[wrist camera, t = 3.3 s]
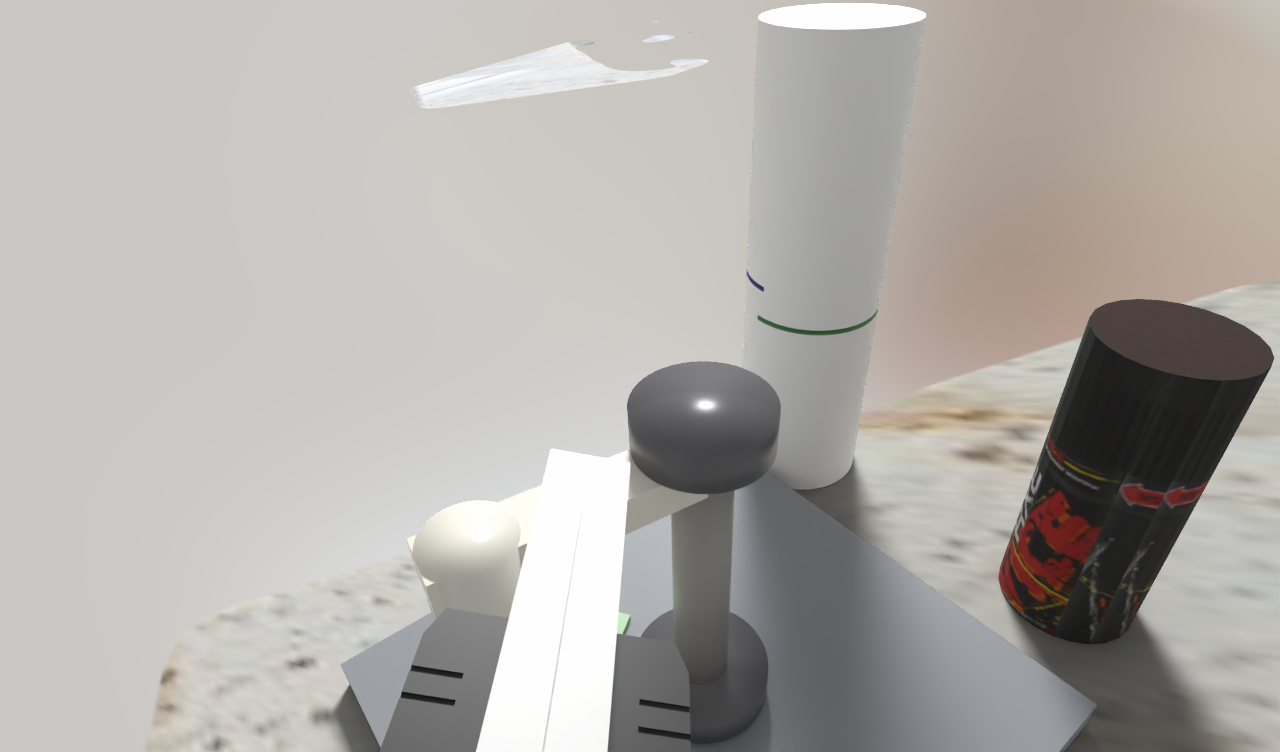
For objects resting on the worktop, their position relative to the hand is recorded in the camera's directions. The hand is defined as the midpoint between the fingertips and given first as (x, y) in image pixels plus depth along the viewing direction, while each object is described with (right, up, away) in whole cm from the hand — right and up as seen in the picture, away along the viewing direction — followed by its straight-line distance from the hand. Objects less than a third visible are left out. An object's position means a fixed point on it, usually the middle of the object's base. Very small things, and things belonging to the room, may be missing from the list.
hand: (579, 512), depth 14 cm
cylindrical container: (+11, -2, +32) cm, 34 cm away
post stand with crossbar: (+1, -11, +16) cm, 20 cm away
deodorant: (+22, -8, +22) cm, 33 cm away
